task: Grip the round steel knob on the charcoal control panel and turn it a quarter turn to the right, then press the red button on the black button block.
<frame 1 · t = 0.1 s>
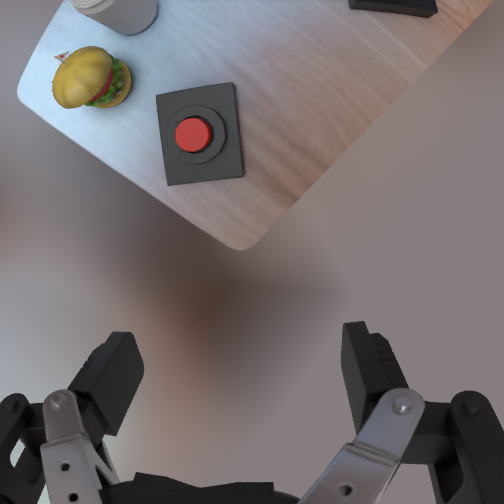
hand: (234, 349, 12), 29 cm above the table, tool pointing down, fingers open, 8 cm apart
button: (193, 134, 32), point 5 cm above the table, slide at 0.2 cm
hamburger: (113, 83, 35), on the table
beverage can: (136, 15, 31), on the table
button block: (202, 133, 37), on the table
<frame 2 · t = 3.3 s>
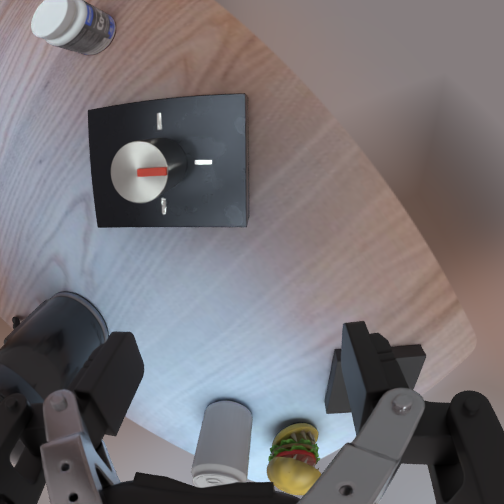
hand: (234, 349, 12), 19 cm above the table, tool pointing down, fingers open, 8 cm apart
hamburger: (293, 429, 41), on the table
beverage can: (229, 411, 40), on the table
knob: (150, 168, 23), point 6 cm above the table, hinge at 0.0°
pill bottle: (97, 34, 24), on the table
button block: (372, 375, 36), on the table
panel: (172, 160, 28), on the table
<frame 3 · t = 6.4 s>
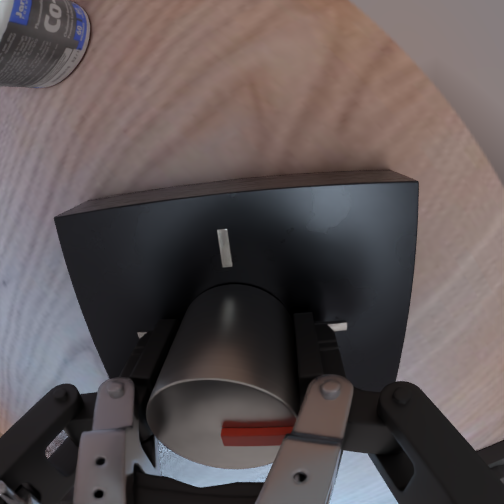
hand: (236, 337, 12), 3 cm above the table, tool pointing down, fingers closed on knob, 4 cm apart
knob: (230, 378, 10), point 6 cm above the table, hinge at 0.3°, touching gripper
pill bottle: (56, 45, 11), on the table
button block: (473, 468, 22), on the table
panel: (244, 295, 15), on the table
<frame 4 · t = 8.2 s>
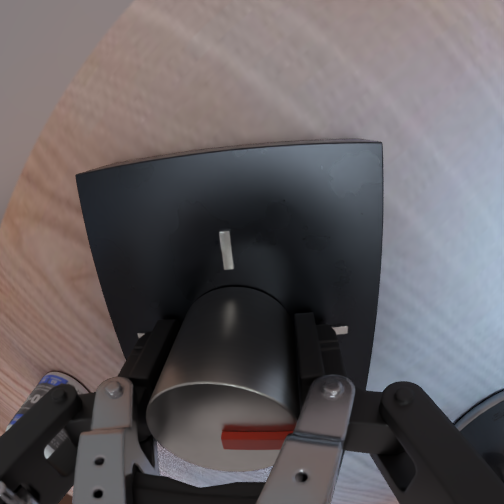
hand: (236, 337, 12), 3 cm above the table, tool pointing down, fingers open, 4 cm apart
knob: (230, 381, 10), point 6 cm above the table, hinge at -90.7°
pill bottle: (71, 391, 20), on the table
panel: (244, 297, 15), on the table
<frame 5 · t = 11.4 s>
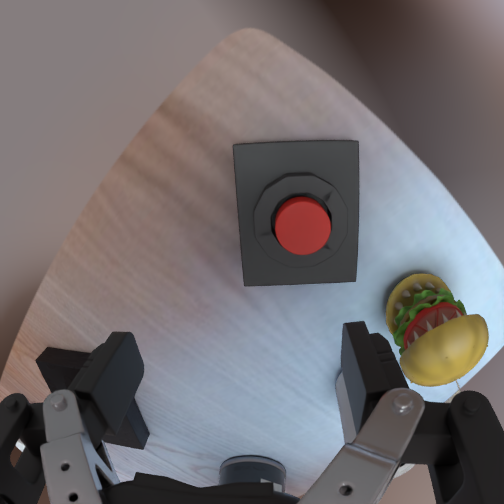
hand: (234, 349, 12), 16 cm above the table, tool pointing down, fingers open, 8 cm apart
button: (302, 225, 21), point 5 cm above the table, slide at 0.2 cm
hamburger: (412, 300, 28), on the table
beverage can: (362, 375, 31), on the table
button block: (297, 209, 26), on the table
panel: (98, 394, 35), on the table
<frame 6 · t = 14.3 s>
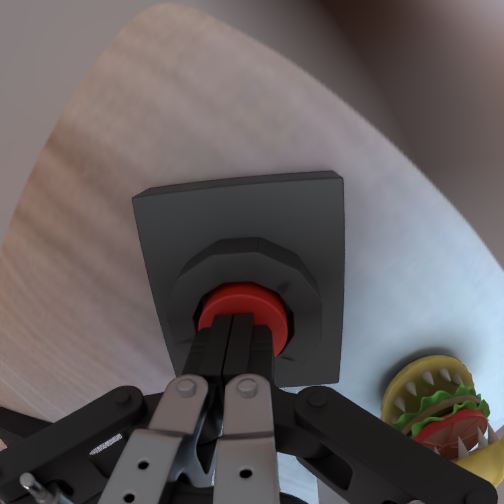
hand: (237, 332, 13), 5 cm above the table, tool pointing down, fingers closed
button: (244, 322, 13), point 4 cm above the table, slide at -0.7 cm, touching gripper
hamburger: (418, 382, 19), on the table
beverage can: (352, 458, 23), on the table
button block: (249, 283, 17), on the table
panel: (58, 455, 27), on the table
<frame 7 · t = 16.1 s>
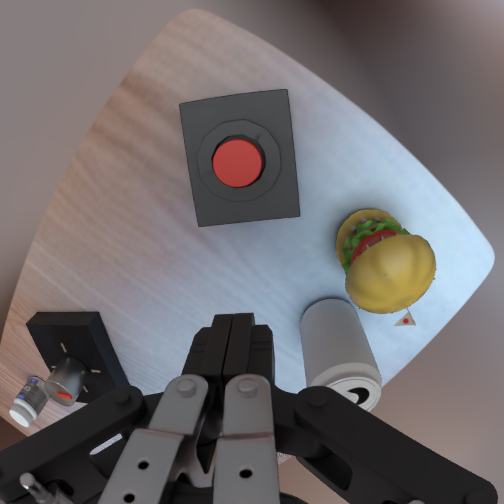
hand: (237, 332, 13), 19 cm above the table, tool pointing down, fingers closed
button: (237, 162, 24), point 5 cm above the table, slide at 0.1 cm
hamburger: (365, 238, 31), on the table
beverage can: (327, 319, 34), on the table
knob: (66, 381, 33), point 6 cm above the table, hinge at -90.7°
pill bottle: (41, 385, 43), on the table
button block: (242, 156, 28), on the table
panel: (84, 355, 39), on the table
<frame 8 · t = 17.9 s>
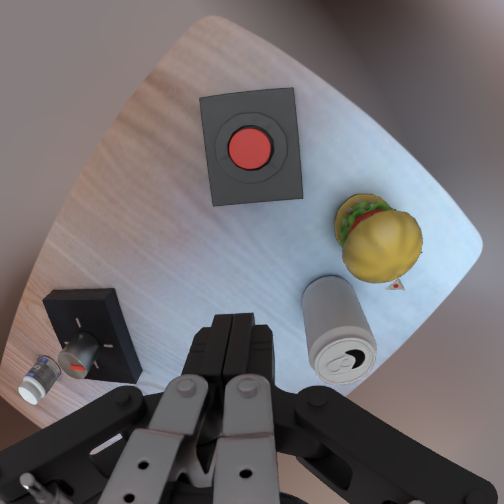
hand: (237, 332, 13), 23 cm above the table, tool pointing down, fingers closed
button: (250, 148, 28), point 5 cm above the table, slide at 0.1 cm
hamburger: (361, 221, 34), on the table
beverage can: (327, 296, 38), on the table
knob: (79, 355, 37), point 6 cm above the table, hinge at -90.7°
pill bottle: (50, 365, 46), on the table
button block: (253, 145, 32), on the table
panel: (96, 332, 42), on the table
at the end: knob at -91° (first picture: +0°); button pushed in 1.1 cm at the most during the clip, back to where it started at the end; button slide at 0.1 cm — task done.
